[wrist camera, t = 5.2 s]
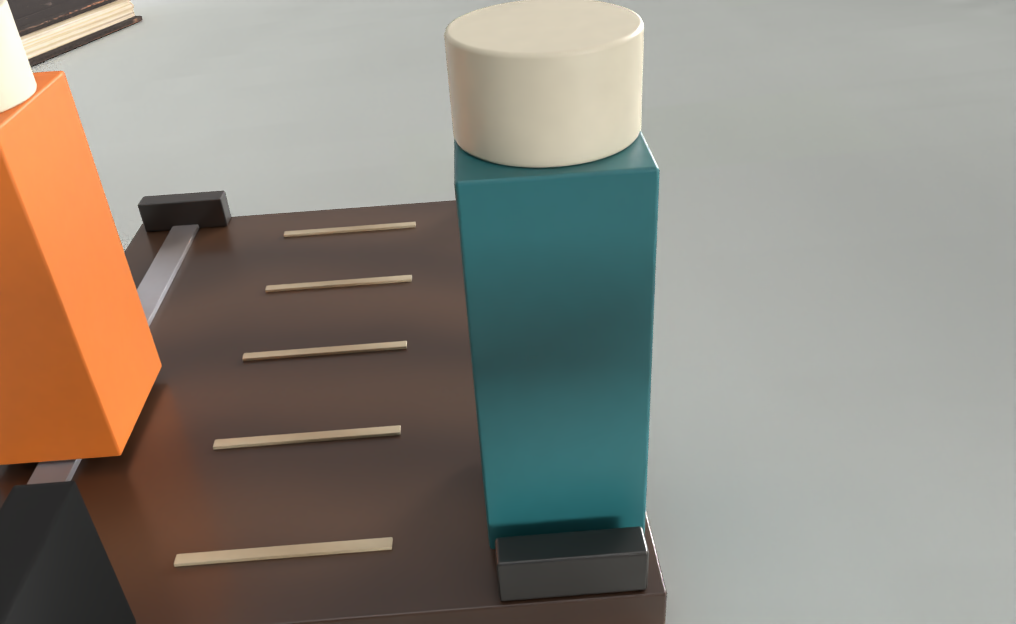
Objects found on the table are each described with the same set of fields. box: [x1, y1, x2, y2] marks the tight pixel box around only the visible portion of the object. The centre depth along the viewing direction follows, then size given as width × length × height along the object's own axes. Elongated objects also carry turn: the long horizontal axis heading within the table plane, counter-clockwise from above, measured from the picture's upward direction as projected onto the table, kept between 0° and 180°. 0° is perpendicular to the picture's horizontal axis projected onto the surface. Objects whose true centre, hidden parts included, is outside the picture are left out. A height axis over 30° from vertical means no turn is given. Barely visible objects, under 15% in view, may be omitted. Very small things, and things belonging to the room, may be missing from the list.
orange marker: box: [0, 0, 162, 465], centre depth 22 cm, size 4×4×11 cm
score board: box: [0, 191, 667, 624], centre depth 27 cm, size 20×17×2 cm
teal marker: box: [444, 0, 660, 549], centre depth 19 cm, size 4×4×11 cm
